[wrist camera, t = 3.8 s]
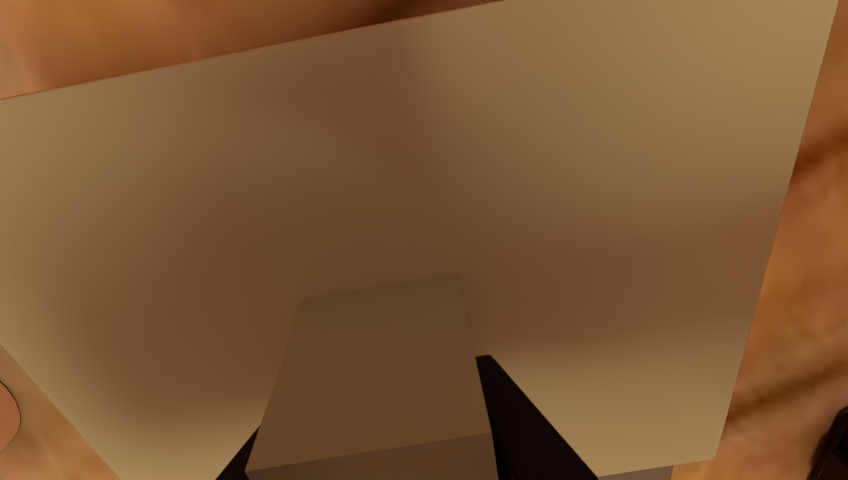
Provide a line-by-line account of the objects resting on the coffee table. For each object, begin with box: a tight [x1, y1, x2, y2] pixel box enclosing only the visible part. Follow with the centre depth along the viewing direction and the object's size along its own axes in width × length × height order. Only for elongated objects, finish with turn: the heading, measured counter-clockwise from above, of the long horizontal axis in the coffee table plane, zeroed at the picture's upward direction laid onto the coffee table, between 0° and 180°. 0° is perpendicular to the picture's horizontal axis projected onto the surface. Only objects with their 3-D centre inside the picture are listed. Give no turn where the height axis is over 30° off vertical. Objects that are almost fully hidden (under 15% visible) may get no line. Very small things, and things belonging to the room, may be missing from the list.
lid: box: [0, 0, 839, 480], centre depth 9 cm, size 18×14×6 cm
